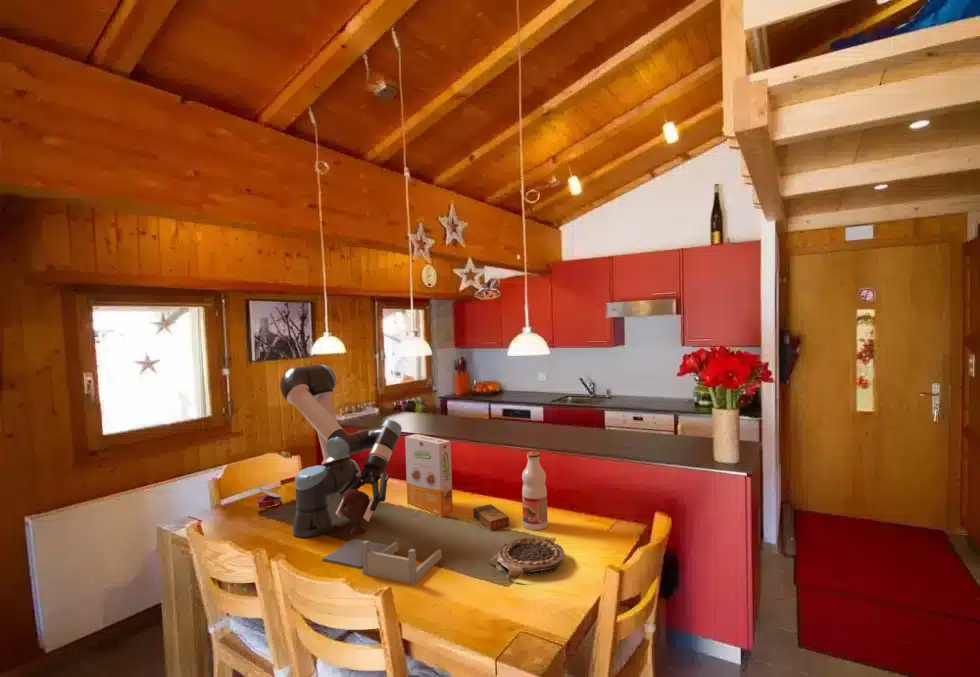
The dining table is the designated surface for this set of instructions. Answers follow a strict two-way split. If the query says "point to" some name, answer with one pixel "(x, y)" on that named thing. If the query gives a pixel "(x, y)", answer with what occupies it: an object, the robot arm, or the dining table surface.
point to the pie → (529, 556)
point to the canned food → (268, 498)
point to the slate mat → (352, 553)
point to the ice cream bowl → (355, 509)
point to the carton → (491, 517)
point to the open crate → (396, 563)
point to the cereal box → (429, 474)
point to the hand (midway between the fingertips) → (351, 517)
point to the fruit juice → (534, 494)
